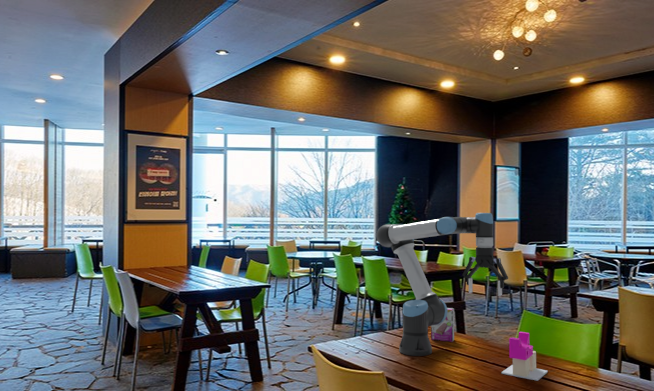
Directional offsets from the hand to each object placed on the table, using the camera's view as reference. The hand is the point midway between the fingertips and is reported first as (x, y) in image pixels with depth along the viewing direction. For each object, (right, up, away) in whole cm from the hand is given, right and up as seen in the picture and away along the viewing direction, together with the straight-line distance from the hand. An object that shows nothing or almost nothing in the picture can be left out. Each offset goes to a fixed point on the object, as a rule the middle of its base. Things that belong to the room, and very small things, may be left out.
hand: (485, 294), depth 223 cm
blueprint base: (+9, -28, -22) cm, 36 cm away
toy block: (+8, -20, -22) cm, 31 cm away
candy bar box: (-11, -30, +32) cm, 46 cm away
